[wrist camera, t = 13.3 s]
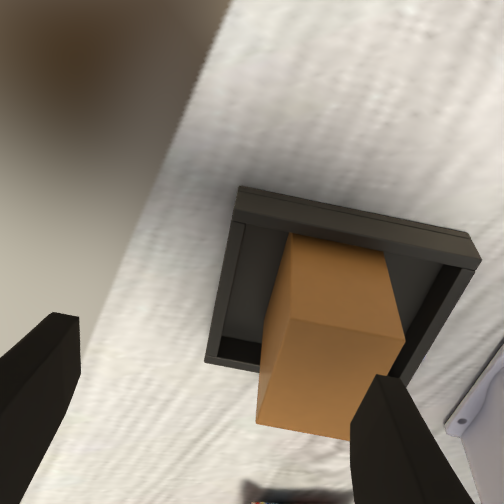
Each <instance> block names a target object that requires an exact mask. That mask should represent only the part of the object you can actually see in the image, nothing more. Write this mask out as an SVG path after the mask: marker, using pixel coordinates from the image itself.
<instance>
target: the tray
mask: <svg viewBox="0 0 504 504" xmlns="http://www.w3.org/2000/svg"><path fill="white" fill-rule="evenodd" d="M289 232H290V233H295V234H300V235H304V236H309V237H314V238H319V239H324V240H329V241H334V242H339V243H344V244H348V245H353V246H358V247H363V248H368V249H373V250H378V251H383V253H384V257H385V261H386V265H387V269H388V273H389V277H390V281H391V285H392V289H393V293H394V297H395V301H396V305H397V309H398V313H399V317H400V320H401V324H402V328H403V332H404V336H405V343H404V345H403V347H402V349H401V351H400V352H399V354H398V356H397V358H396V360H395V362H394V363H393V365H392V367H391V369H390V371H389V373H388V374H387V376H389V377H395V378H400V379H401V380H402V382H403V384H404V385H405V387H407V385H408V384H409V382H410V380H411V379H412V377H413V375H414V374H415V372H416V370H417V369H418V367H419V365H420V364H421V362H422V360H423V359H424V357H425V355H426V354H427V352H428V350H429V349H430V347H431V345H432V344H433V342H434V340H435V338H436V337H437V335H438V333H439V332H440V330H441V328H442V327H443V325H444V323H445V322H446V320H447V318H448V317H449V315H450V313H451V312H452V310H453V308H454V307H455V305H456V303H457V302H458V300H459V298H460V297H461V295H462V293H463V292H464V290H465V288H466V287H467V285H468V283H469V282H470V280H471V278H472V277H473V275H474V273H475V270H477V268H478V266H479V264H480V263H481V261H482V258H481V257H480V255H479V253H478V251H477V249H476V247H475V245H474V243H473V242H472V240H471V238H470V236H469V234H468V233H465V232H460V231H455V230H450V229H445V228H441V227H436V226H431V225H426V224H421V223H417V222H412V221H407V220H402V219H397V218H393V217H388V216H383V215H378V214H373V213H369V212H364V211H359V210H354V209H349V208H345V207H340V206H335V205H330V204H325V203H321V202H316V201H311V200H306V199H301V198H296V197H292V196H287V195H282V194H277V193H272V192H268V191H263V190H258V189H253V188H248V187H244V186H239V187H238V192H237V196H236V201H235V206H234V210H233V215H232V221H231V226H230V231H229V236H228V241H227V246H226V251H225V256H224V261H223V266H222V272H221V277H220V282H219V287H218V292H217V297H216V302H215V307H214V312H213V318H212V323H211V328H210V333H209V338H208V343H207V348H206V353H205V358H204V362H205V363H209V364H214V365H219V366H225V367H230V368H235V369H241V370H246V371H251V372H256V373H260V361H261V349H262V337H263V325H264V319H265V315H266V312H267V308H268V304H269V301H270V297H271V294H272V290H273V287H274V283H275V280H276V276H277V273H278V269H279V266H280V262H281V259H282V255H283V252H284V248H285V245H286V241H287V238H288V234H289Z"/></svg>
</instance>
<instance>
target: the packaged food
mask: <svg viewBox="0 0 504 504" xmlns="http://www.w3.org/2000/svg"><path fill="white" fill-rule="evenodd" d="M251 504H279V503H267V502H252V503H251Z"/></svg>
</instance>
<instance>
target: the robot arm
mask: <svg viewBox="0 0 504 504" xmlns="http://www.w3.org/2000/svg"><path fill="white" fill-rule="evenodd" d="M79 331H80V329H79V317H77V316H72V315H66V314H61V313H56V312H52V313H51V314H49V315H48V316H47V317H46V318H44V319H43V320H42V321H41V322H40V323H39V324H38V325H37V326H36V327H35V328H34V329H32V330H31V331H30V332H29V333H28V334H27V335H26V336H25V337H24V338H23V339H21V340H20V341H19V342H18V343H17V344H16V345H15V346H13V347H12V348H11V349H10V350H9V351H8V352H7V353H5V354H4V355H3V356H2V357H1V358H0V504H19V503H20V501H21V499H22V498H23V496H24V494H25V492H26V490H27V488H28V486H29V484H30V482H31V480H32V478H33V476H34V474H35V472H36V471H37V469H38V467H39V465H40V463H41V461H42V459H43V457H44V455H45V453H46V451H47V449H48V447H49V446H50V444H51V442H52V440H53V438H54V436H55V434H56V432H57V430H58V428H59V426H60V424H61V422H62V420H63V418H64V416H65V414H66V412H67V409H68V406H69V404H70V401H71V399H72V396H73V394H74V391H75V388H76V385H77V383H78V380H79V377H80V375H81V360H80V332H79ZM444 428H445V431H446V433H447V434H448V435H451V436H455V437H461V440H462V443H463V446H464V449H465V453H466V456H467V459H468V462H469V466H470V469H471V472H472V475H473V478H474V482H475V485H476V488H477V491H478V494H479V498H480V501H481V504H504V344H503V345H502V347H501V348H500V349H499V351H498V352H497V353H496V355H495V356H494V358H493V359H492V360H491V362H490V363H489V365H488V366H487V367H486V369H485V370H484V371H483V373H482V374H481V376H480V377H479V378H478V380H477V381H476V382H475V384H474V385H473V387H472V388H471V389H470V391H469V392H468V393H467V395H466V396H465V398H464V399H463V400H462V402H461V403H460V405H459V406H458V407H457V409H456V410H455V411H454V413H453V414H452V416H451V417H450V418H449V420H448V421H447V422H446V424H445V426H444ZM350 468H351V477H352V485H353V494H354V502H355V504H475V503H474V502H473V500H472V499H471V497H470V496H469V494H468V493H467V491H466V490H465V488H464V486H463V485H462V483H461V482H460V480H459V479H458V477H457V475H456V474H455V472H454V471H453V469H452V467H451V466H450V464H449V462H448V461H447V459H446V457H445V456H444V454H443V452H442V451H441V449H440V447H439V446H438V444H437V442H436V441H435V439H434V437H433V435H432V434H431V432H430V430H429V428H428V427H427V425H426V423H425V421H424V420H423V418H422V416H421V414H420V412H419V411H418V409H417V407H416V405H415V403H414V402H413V400H412V398H411V396H410V394H409V392H408V391H407V389H406V387H405V385H404V384H403V382H402V380H401V379H400V378H395V377H389V376H384V375H379V374H376V375H375V377H374V379H373V381H372V383H371V385H370V386H369V388H368V390H367V392H366V394H365V396H364V398H363V400H362V402H361V404H360V406H359V407H358V409H357V411H356V413H355V415H354V417H353V419H352V421H351V423H350Z"/></svg>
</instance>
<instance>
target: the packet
mask: <svg viewBox="0 0 504 504" xmlns="http://www.w3.org/2000/svg"><path fill="white" fill-rule="evenodd" d="M404 343H405V336H404V332H403V328H402V324H401V320H400V317H399V313H398V309H397V305H396V301H395V297H394V293H393V289H392V285H391V281H390V277H389V273H388V269H387V265H386V261H385V257H384V253H383V251H378V250H373V249H368V248H363V247H358V246H353V245H348V244H344V243H339V242H334V241H329V240H324V239H319V238H314V237H309V236H304V235H300V234H295V233H290V232H289V234H288V238H287V241H286V245H285V248H284V252H283V255H282V259H281V262H280V266H279V269H278V273H277V276H276V280H275V283H274V287H273V290H272V294H271V297H270V301H269V304H268V308H267V312H266V315H265V319H264V325H263V337H262V349H261V361H260V373H259V385H258V397H257V409H256V424H260V425H265V426H271V427H276V428H282V429H287V430H292V431H298V432H303V433H309V434H314V435H320V436H325V437H330V438H336V439H341V440H347V441H350V423H351V421H352V419H353V417H354V415H355V413H356V411H357V409H358V407H359V406H360V404H361V402H362V400H363V398H364V396H365V394H366V392H367V390H368V388H369V386H370V385H371V383H372V381H373V379H374V377H375V375H376V374H379V375H384V376H387V374H388V373H389V371H390V369H391V367H392V365H393V363H394V362H395V360H396V358H397V356H398V354H399V352H400V351H401V349H402V347H403V345H404Z"/></svg>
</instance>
